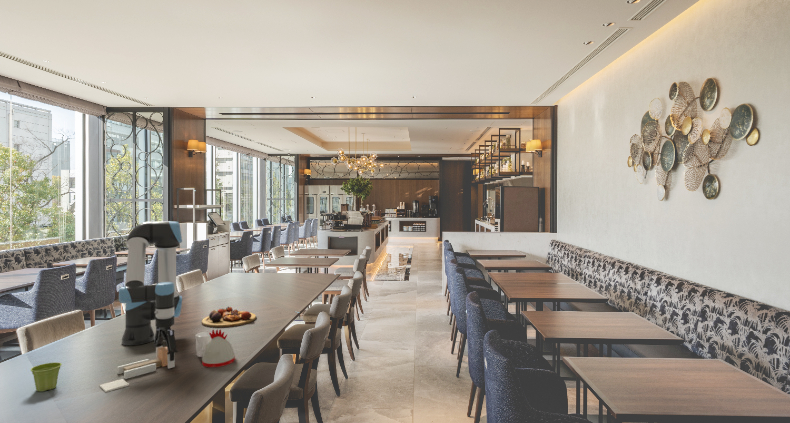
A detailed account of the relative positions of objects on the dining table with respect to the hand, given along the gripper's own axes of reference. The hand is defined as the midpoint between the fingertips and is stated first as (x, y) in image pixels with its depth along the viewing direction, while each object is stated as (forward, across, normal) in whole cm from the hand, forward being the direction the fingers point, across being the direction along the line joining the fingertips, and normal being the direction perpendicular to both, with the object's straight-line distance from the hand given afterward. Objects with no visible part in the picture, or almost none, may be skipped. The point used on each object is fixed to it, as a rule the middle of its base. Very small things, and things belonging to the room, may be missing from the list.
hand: (165, 364), depth 190 cm
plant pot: (0, -9, -40) cm, 41 cm away
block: (0, -1, +1) cm, 1 cm away
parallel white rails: (0, 0, -12) cm, 12 cm away
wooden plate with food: (+1, -48, +56) cm, 74 cm away
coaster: (0, +9, -22) cm, 24 cm away
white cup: (0, +1, +18) cm, 18 cm away
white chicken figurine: (0, +15, +18) cm, 23 cm away
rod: (0, -1, -9) cm, 9 cm away
